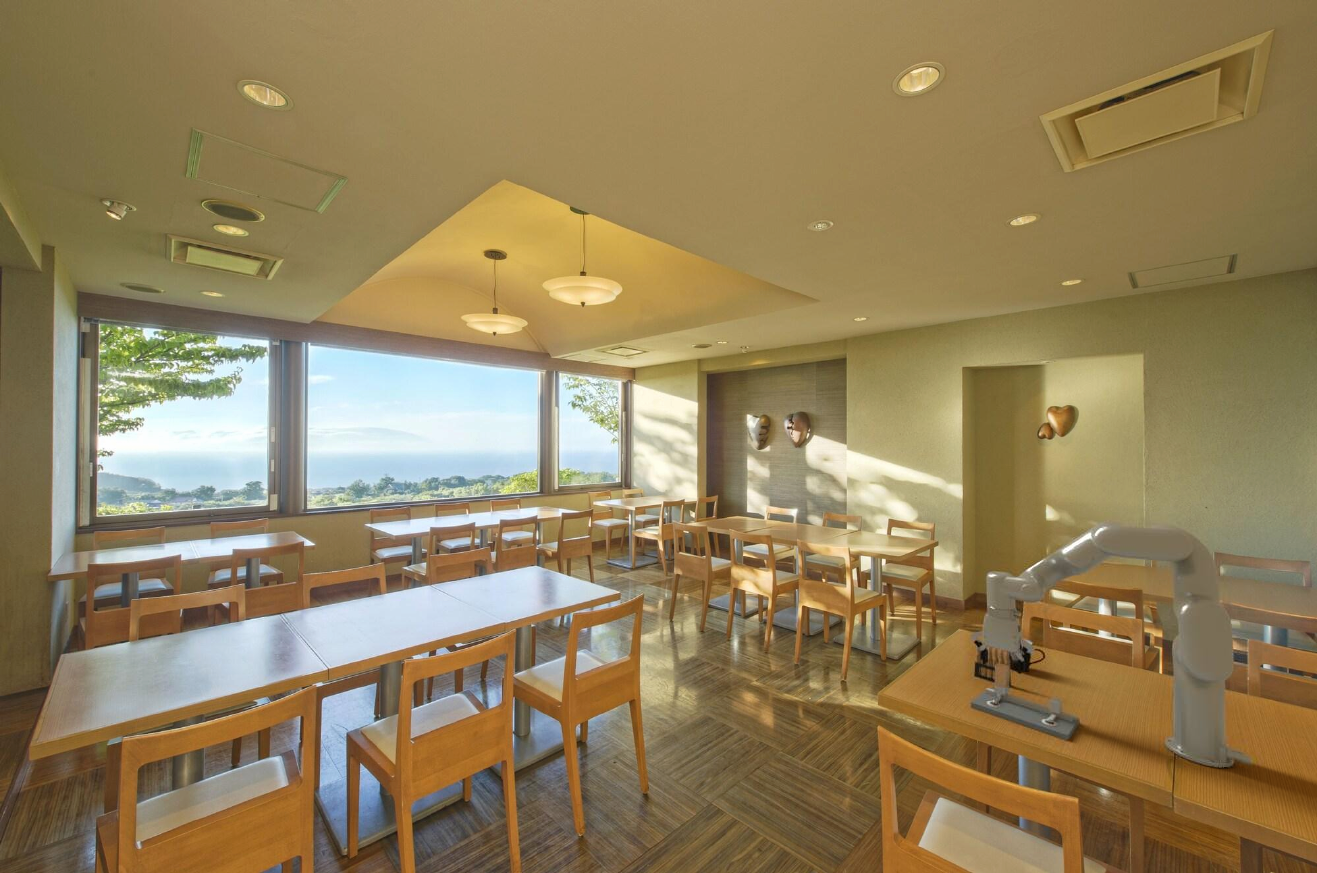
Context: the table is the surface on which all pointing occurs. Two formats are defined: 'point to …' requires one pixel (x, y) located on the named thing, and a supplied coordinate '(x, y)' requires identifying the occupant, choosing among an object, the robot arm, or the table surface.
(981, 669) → the ammunition clip
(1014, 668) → the coffee mug
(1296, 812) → the table surface
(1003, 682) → the sliding leg
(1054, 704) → the grey slotted base plate
